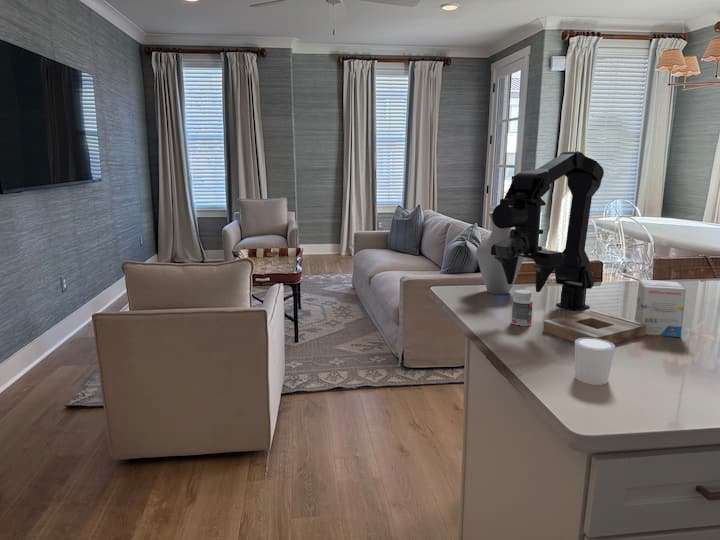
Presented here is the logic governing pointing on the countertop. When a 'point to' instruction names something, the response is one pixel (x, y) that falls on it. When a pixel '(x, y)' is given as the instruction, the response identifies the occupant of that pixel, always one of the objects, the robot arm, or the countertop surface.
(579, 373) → the white short tapered cylinder
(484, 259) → the vase
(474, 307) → the countertop surface
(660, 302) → the ink box
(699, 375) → the countertop surface
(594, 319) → the walnut jig
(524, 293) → the pill bottle
